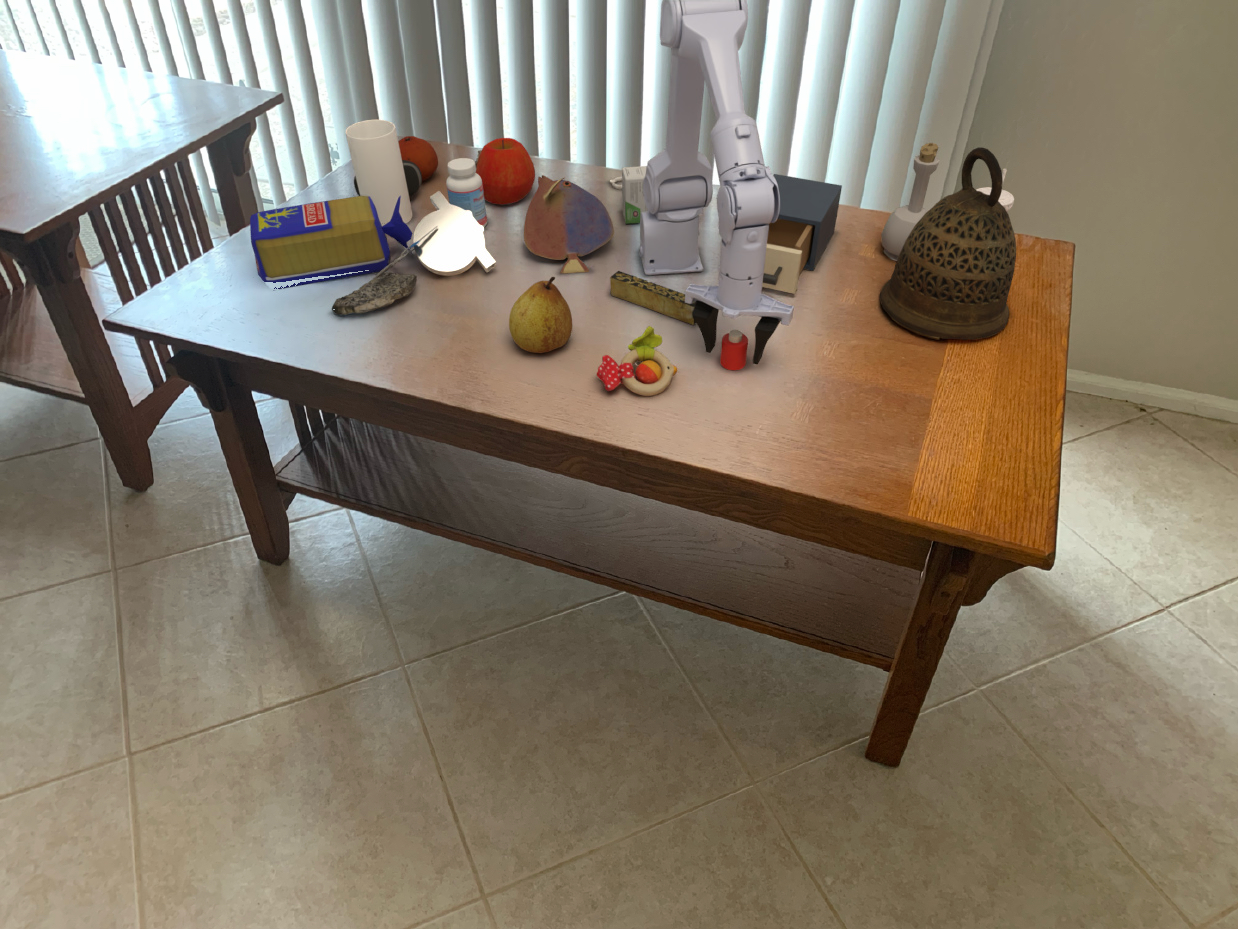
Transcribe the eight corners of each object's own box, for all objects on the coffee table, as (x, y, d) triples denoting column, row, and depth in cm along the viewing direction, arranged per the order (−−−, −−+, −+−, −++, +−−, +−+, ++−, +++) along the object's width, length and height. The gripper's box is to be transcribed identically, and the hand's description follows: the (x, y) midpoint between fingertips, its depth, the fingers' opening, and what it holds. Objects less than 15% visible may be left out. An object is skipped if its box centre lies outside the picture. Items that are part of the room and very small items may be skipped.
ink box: (622, 212, 154) (686, 207, 155) (625, 225, 151) (691, 220, 151) (621, 166, 148) (688, 161, 149) (624, 178, 145) (693, 174, 146)
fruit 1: (387, 188, 163) (378, 146, 157) (403, 167, 169) (395, 127, 164) (431, 190, 162) (424, 149, 156) (446, 170, 168) (439, 129, 162)
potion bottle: (941, 251, 142) (970, 144, 130) (914, 272, 138) (941, 163, 125) (894, 233, 147) (918, 129, 134) (866, 253, 142) (888, 147, 130)
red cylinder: (722, 371, 120) (725, 341, 116) (718, 356, 122) (720, 326, 119) (748, 369, 120) (751, 339, 116) (742, 354, 122) (745, 324, 119)
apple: (534, 210, 155) (529, 152, 148) (474, 210, 155) (466, 153, 148) (539, 183, 163) (534, 127, 155) (482, 183, 163) (474, 128, 156)
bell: (973, 388, 129) (1024, 285, 134) (1030, 294, 105) (1088, 173, 110) (856, 339, 134) (909, 242, 139) (885, 238, 110) (947, 126, 115)
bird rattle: (694, 349, 116) (642, 312, 118) (645, 394, 110) (591, 354, 112) (683, 379, 121) (633, 343, 123) (636, 423, 115) (584, 385, 117)
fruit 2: (502, 338, 126) (492, 267, 117) (557, 319, 129) (551, 249, 121) (527, 370, 121) (519, 298, 112) (584, 349, 124) (580, 278, 115)
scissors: (381, 275, 130) (377, 271, 129) (362, 293, 136) (358, 289, 136) (440, 228, 137) (436, 223, 137) (419, 247, 144) (415, 243, 143)
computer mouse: (348, 167, 155) (348, 175, 152) (415, 153, 156) (417, 160, 153) (361, 205, 159) (361, 212, 156) (426, 190, 161) (427, 198, 157)
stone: (325, 302, 131) (332, 318, 133) (359, 314, 126) (367, 331, 128) (392, 256, 138) (398, 272, 140) (427, 266, 133) (433, 283, 135)
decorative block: (702, 319, 129) (703, 298, 127) (693, 326, 128) (694, 306, 125) (618, 288, 136) (618, 268, 133) (609, 295, 134) (609, 275, 132)
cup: (422, 213, 155) (405, 125, 144) (390, 233, 150) (370, 142, 139) (388, 203, 158) (370, 115, 147) (356, 221, 153) (334, 132, 142)
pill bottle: (486, 232, 149) (477, 170, 142) (451, 233, 149) (440, 171, 142) (489, 216, 154) (481, 155, 146) (455, 217, 154) (445, 156, 146)
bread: (262, 265, 143) (241, 207, 135) (411, 239, 148) (399, 182, 141) (263, 297, 136) (242, 238, 128) (420, 269, 141) (408, 211, 134)
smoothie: (999, 262, 139) (1026, 179, 130) (958, 258, 140) (981, 176, 131) (995, 242, 144) (1020, 162, 134) (955, 239, 145) (977, 159, 135)
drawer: (786, 308, 129) (792, 268, 124) (721, 293, 132) (724, 254, 128) (815, 255, 140) (821, 217, 136) (754, 243, 143) (758, 205, 139)
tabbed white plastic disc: (508, 253, 138) (453, 280, 133) (496, 280, 145) (443, 307, 139) (452, 182, 139) (395, 206, 134) (442, 212, 146) (387, 236, 140)
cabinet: (813, 270, 138) (821, 221, 133) (744, 256, 142) (749, 208, 136) (834, 232, 147) (842, 185, 141) (768, 220, 151) (774, 173, 145)
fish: (514, 152, 139) (606, 144, 140) (520, 200, 151) (605, 193, 152) (524, 255, 133) (621, 247, 134) (530, 297, 145) (618, 289, 146)
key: (605, 183, 161) (613, 173, 164) (606, 188, 161) (613, 178, 164) (666, 192, 158) (673, 182, 161) (666, 197, 158) (673, 187, 161)
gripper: (677, 272, 110) (674, 358, 120) (787, 296, 106) (775, 383, 115) (697, 246, 115) (692, 331, 124) (803, 268, 110) (790, 354, 120)
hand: (733, 354), depth 120 cm, fingers open, 6 cm apart
